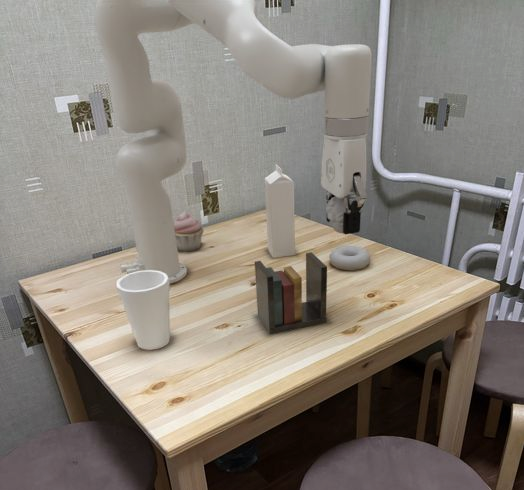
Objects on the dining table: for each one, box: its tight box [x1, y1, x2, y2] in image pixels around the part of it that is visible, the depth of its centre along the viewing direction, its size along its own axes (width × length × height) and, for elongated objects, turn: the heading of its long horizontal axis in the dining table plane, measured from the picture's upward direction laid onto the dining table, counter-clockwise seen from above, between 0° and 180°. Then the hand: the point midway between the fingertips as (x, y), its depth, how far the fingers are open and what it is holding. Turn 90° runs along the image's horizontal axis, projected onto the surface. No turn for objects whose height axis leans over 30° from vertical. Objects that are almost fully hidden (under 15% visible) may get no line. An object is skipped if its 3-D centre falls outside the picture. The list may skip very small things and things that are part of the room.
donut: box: [328, 245, 371, 271], centre depth 129 cm, size 10×4×10 cm
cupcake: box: [173, 211, 205, 252], centre depth 142 cm, size 9×9×10 cm
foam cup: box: [115, 270, 171, 351], centre depth 99 cm, size 10×9×13 cm
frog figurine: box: [325, 196, 354, 235], centre depth 99 cm, size 6×7×7 cm
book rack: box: [254, 251, 328, 335], centre depth 104 cm, size 12×8×12 cm, turn 107°
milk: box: [264, 163, 296, 259], centre depth 133 cm, size 6×6×22 cm
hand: (342, 225), depth 100 cm, fingers closed on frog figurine, 6 cm apart
